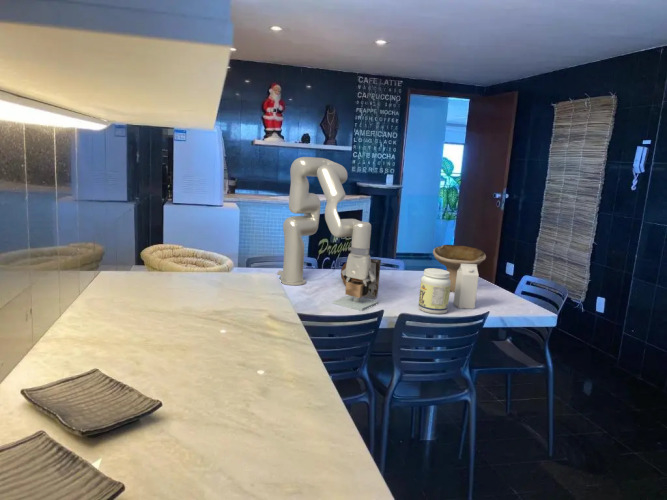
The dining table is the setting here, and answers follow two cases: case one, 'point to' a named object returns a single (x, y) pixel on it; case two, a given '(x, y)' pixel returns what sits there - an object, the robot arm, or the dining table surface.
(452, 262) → the bowl
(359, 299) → the post plate
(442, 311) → the supplement tub
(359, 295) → the collar
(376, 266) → the coffee box
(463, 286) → the milk carton
